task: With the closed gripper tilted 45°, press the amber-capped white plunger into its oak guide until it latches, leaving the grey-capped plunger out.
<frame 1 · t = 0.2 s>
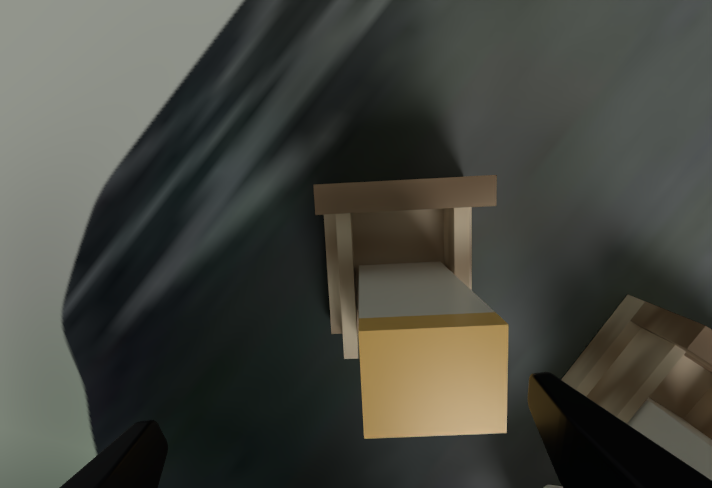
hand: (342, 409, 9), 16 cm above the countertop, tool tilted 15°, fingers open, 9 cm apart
guide b: (615, 407, 25), on the countertop
guide a: (397, 286, 24), on the countertop
button a: (412, 326, 17), point 7 cm above the countertop, slide at 0.0 cm
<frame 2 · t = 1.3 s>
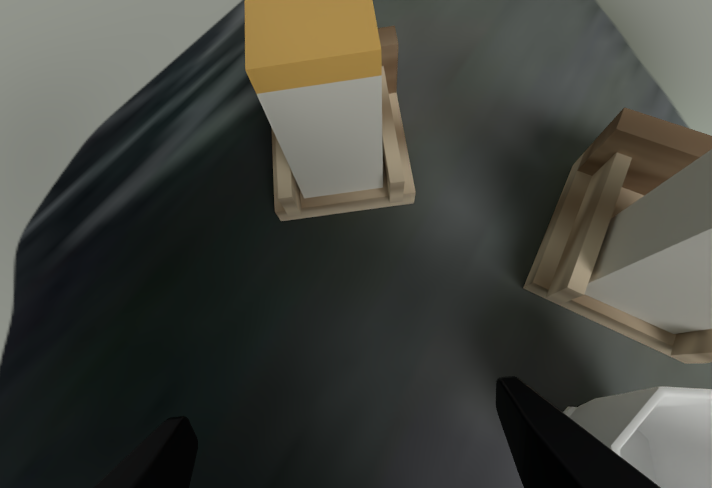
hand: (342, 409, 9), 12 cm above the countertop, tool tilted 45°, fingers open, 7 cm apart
guide b: (612, 286, 21), on the countertop
cup: (605, 481, 18), on the countertop
guide a: (343, 179, 25), on the countertop
button a: (328, 111, 18), point 7 cm above the countertop, slide at 0.0 cm
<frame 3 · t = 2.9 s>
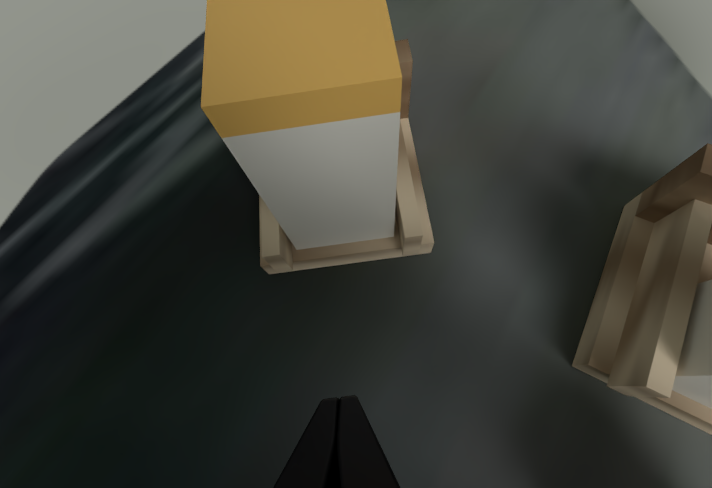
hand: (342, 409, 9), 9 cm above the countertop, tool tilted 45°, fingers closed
guide b: (686, 364, 17), on the countertop
guide a: (344, 222, 21), on the countertop
button a: (326, 150, 14), point 7 cm above the countertop, slide at 0.0 cm
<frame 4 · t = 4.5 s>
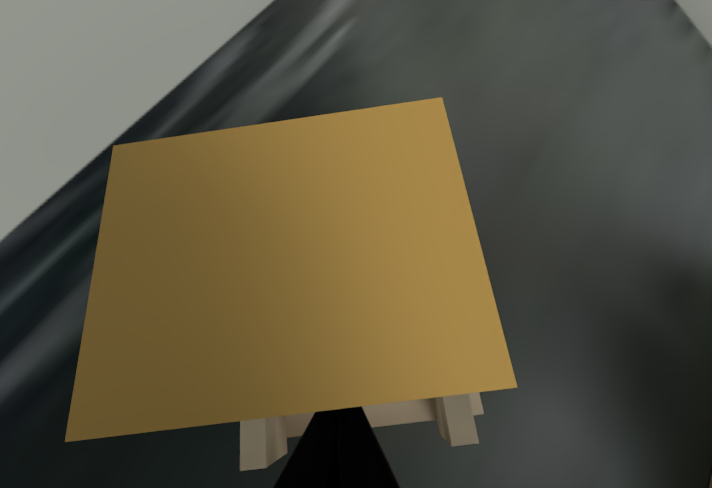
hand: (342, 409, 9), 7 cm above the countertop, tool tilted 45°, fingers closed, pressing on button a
guide a: (356, 360, 16), on the countertop
button a: (333, 314, 9), point 7 cm above the countertop, slide at 0.8 cm, touching gripper
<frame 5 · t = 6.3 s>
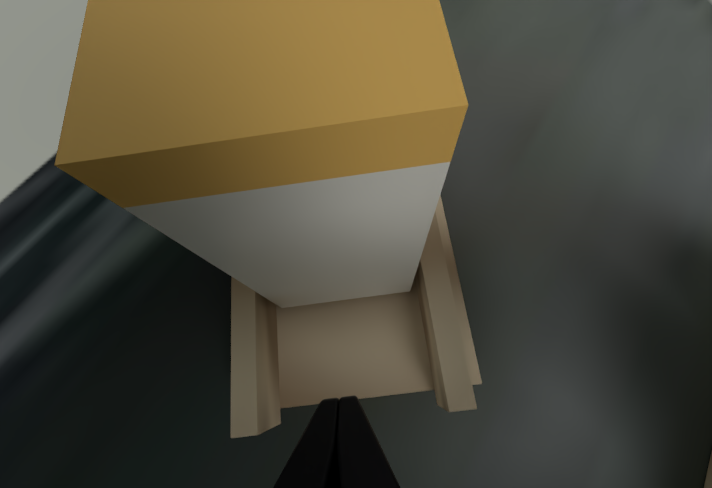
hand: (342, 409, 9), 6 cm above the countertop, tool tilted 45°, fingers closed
guide a: (352, 332, 15), on the countertop
button a: (318, 191, 10), point 7 cm above the countertop, slide at 3.1 cm
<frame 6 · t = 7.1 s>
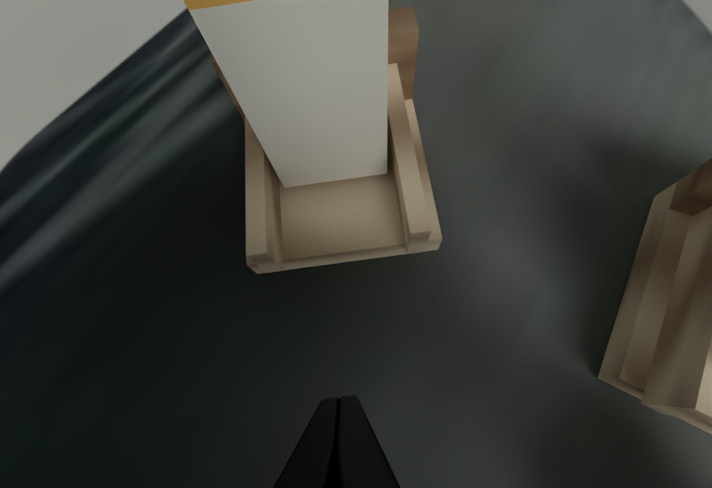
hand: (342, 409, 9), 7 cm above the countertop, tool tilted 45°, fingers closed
guide a: (341, 216, 19), on the countertop
button a: (312, 63, 13), point 7 cm above the countertop, slide at 3.1 cm
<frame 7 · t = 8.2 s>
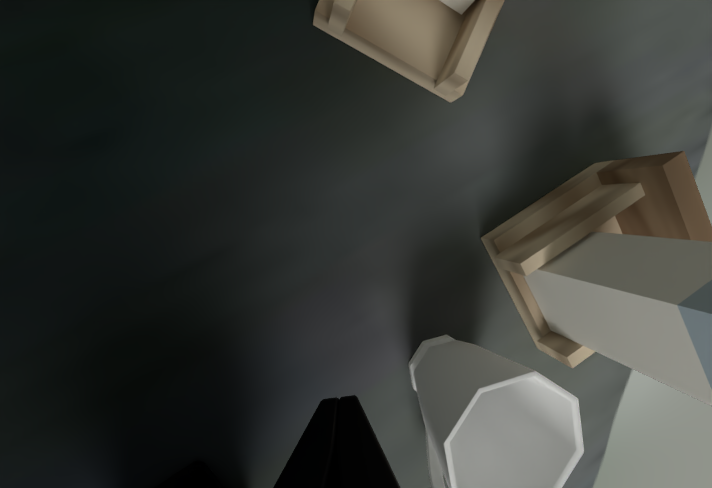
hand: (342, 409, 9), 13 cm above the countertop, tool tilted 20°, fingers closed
guide b: (539, 274, 24), on the countertop
cup: (433, 387, 24), on the countertop
button b: (638, 302, 17), point 7 cm above the countertop, slide at 0.0 cm
guide a: (402, 25, 21), on the countertop
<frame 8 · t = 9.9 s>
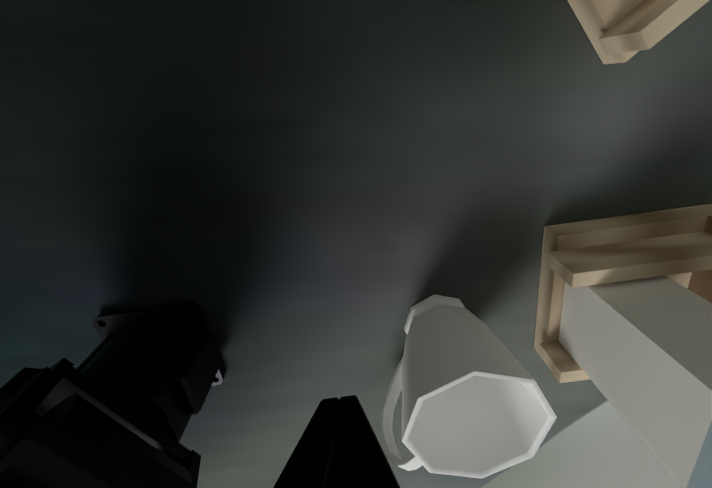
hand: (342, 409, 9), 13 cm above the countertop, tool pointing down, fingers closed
guide b: (578, 286, 23), on the countertop
cup: (422, 335, 24), on the countertop
button b: (668, 364, 16), point 7 cm above the countertop, slide at 0.0 cm
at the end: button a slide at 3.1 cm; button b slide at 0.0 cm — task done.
